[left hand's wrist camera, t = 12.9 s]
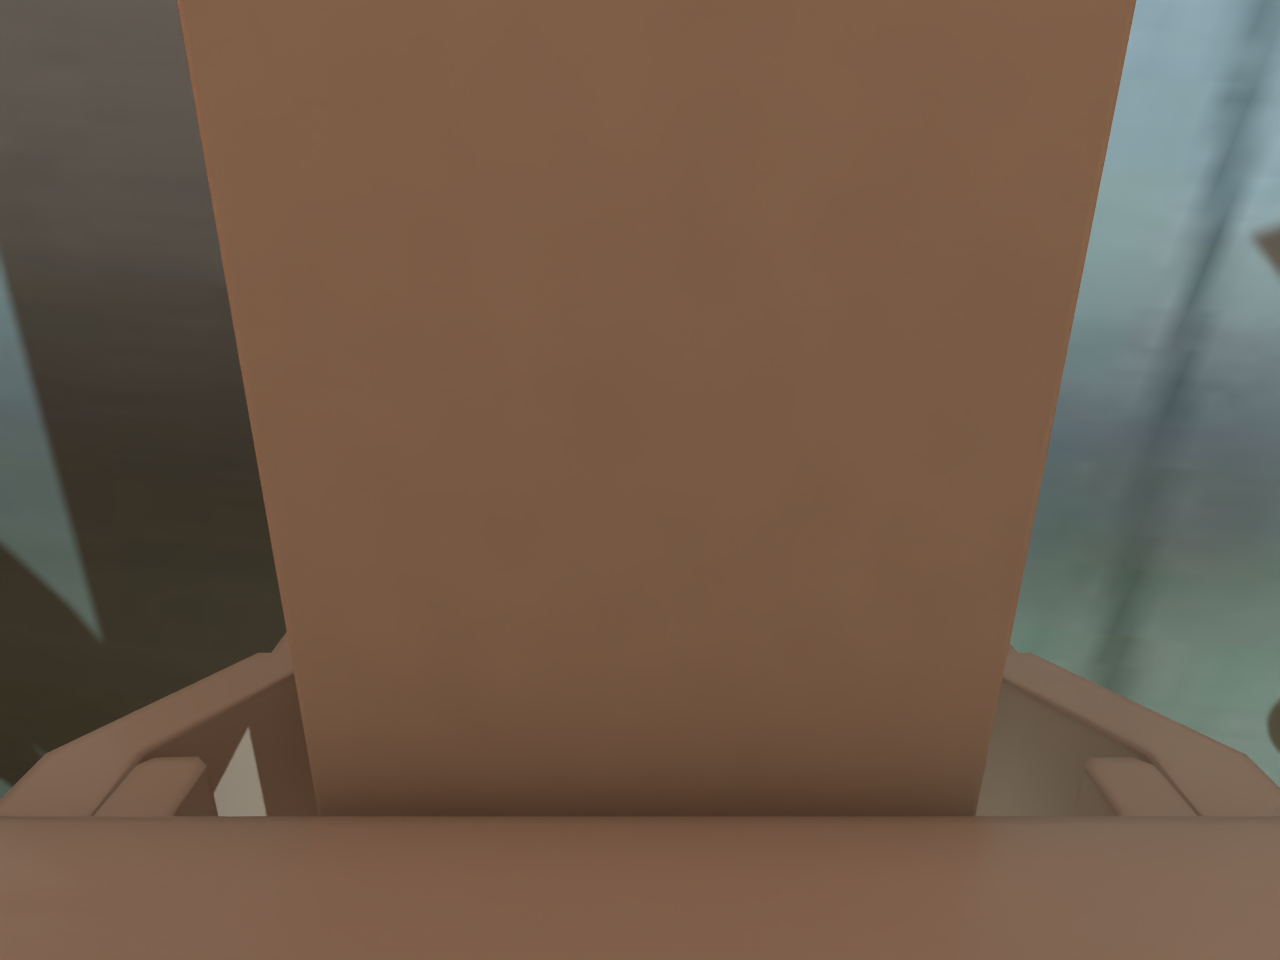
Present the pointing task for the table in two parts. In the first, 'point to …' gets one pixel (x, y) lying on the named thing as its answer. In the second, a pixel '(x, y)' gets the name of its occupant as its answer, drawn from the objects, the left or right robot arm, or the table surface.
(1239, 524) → the table surface
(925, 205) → the beam
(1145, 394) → the table surface
